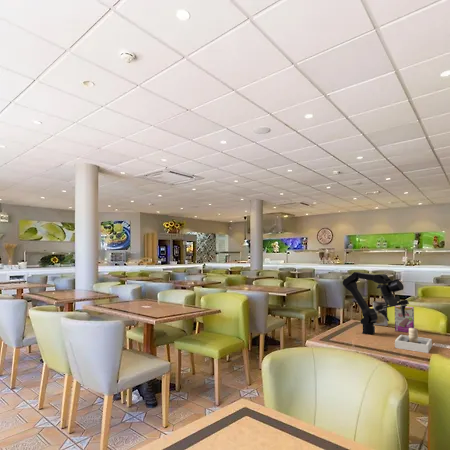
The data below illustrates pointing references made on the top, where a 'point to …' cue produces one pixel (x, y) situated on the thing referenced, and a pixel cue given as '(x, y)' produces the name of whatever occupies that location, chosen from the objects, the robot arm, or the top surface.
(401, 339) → the bore box
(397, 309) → the candy bar box
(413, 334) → the peg
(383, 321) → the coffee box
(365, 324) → the robot arm
